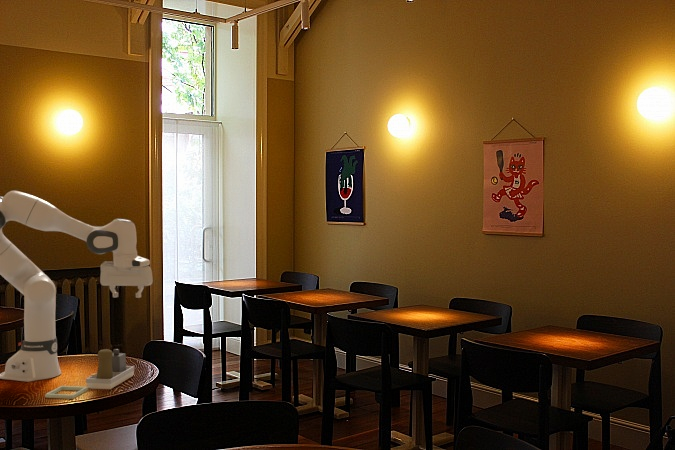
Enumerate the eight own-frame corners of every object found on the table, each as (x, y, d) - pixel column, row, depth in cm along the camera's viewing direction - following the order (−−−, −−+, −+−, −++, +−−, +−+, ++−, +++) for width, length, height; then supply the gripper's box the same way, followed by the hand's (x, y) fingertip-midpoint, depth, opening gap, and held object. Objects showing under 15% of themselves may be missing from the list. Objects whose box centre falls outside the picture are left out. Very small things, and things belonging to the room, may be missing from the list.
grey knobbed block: (107, 374, 270) (106, 350, 270) (113, 371, 275) (113, 347, 275) (120, 374, 269) (119, 351, 269) (126, 371, 274) (125, 348, 274)
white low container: (85, 388, 259) (84, 377, 259) (110, 374, 278) (109, 364, 278) (111, 389, 258) (110, 378, 257) (134, 375, 276) (134, 365, 276)
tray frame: (45, 397, 248) (45, 394, 248) (61, 389, 258) (61, 385, 258) (72, 398, 247) (72, 395, 246) (87, 390, 257) (87, 387, 257)
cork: (101, 376, 266) (102, 347, 265) (116, 378, 265) (117, 348, 264) (92, 380, 260) (93, 351, 259) (107, 382, 259) (108, 352, 258)
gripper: (96, 262, 273) (97, 298, 274) (146, 262, 269) (147, 299, 270) (104, 260, 279) (106, 295, 280) (153, 260, 275) (155, 296, 276)
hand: (127, 297), depth 275 cm, fingers open, 8 cm apart
